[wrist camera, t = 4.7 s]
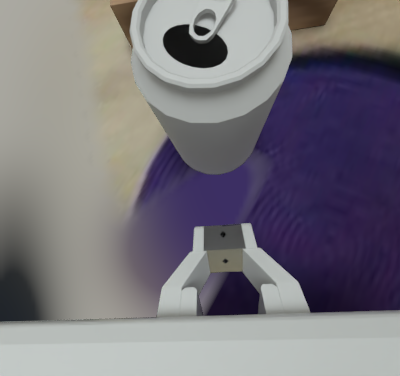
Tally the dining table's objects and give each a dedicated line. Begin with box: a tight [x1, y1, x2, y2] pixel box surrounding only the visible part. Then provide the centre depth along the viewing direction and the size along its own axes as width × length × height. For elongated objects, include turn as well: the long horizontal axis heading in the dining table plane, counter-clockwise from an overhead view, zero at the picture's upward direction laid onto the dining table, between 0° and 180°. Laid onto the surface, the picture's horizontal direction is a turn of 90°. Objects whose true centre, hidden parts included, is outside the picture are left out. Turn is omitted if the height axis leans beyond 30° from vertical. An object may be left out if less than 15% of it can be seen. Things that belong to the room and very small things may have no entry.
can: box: [130, 0, 292, 175], centre depth 13 cm, size 8×8×12 cm
